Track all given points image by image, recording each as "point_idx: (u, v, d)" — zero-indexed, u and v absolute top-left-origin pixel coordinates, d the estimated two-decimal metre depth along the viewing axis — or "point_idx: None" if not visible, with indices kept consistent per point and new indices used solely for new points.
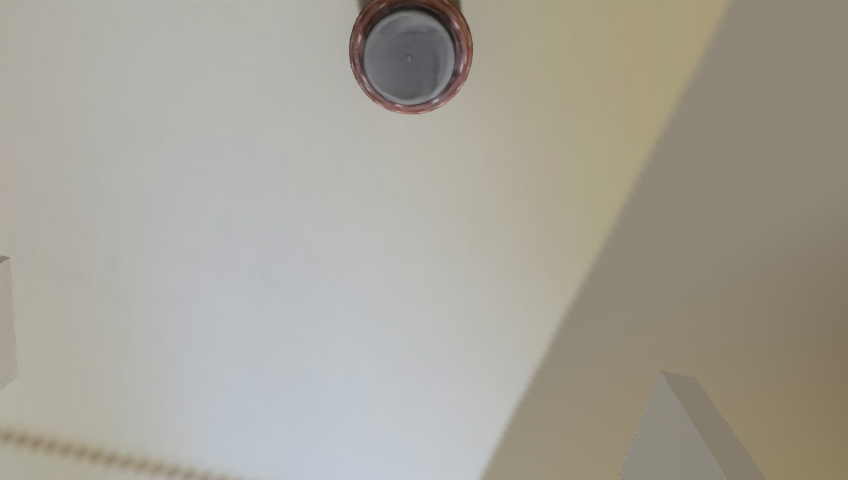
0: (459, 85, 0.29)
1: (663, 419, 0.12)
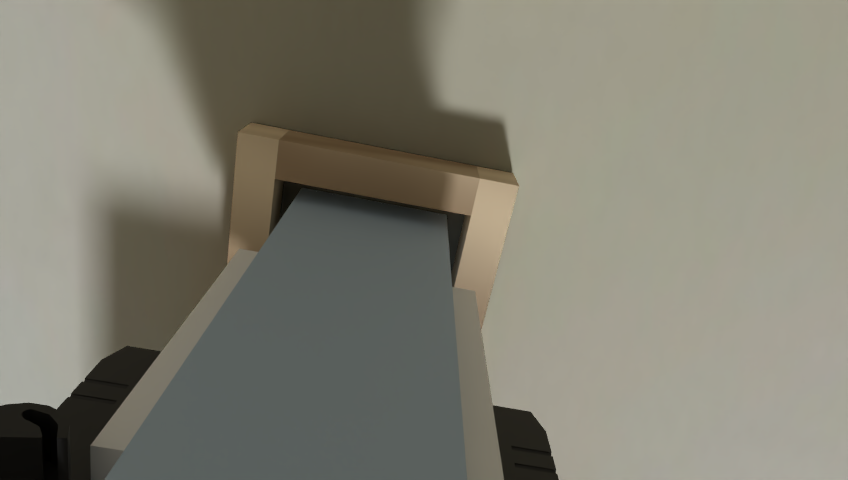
0: None
1: None
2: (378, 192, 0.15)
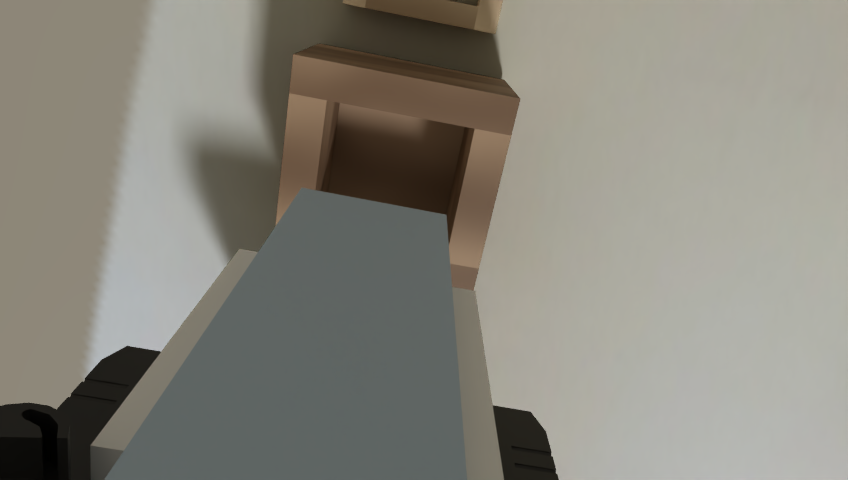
0: None
1: None
2: None
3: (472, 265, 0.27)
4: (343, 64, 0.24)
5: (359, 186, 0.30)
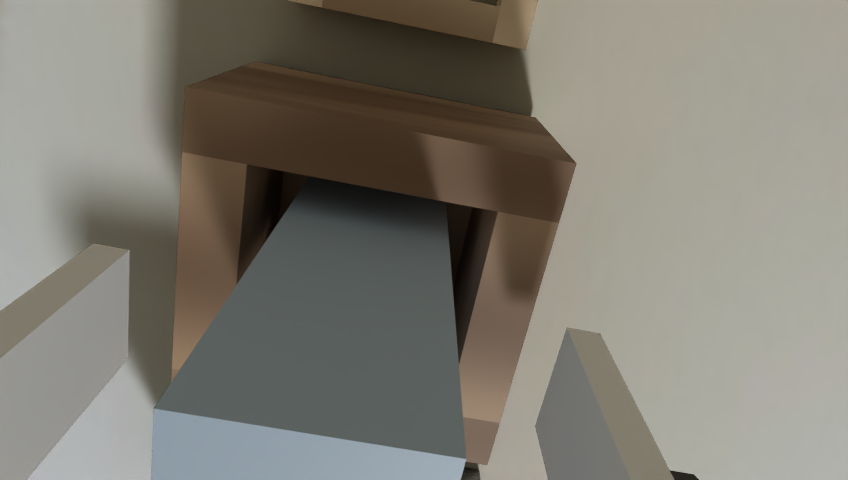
0: None
1: (566, 370, 0.13)
2: None
3: (489, 418, 0.17)
4: (273, 104, 0.14)
5: None
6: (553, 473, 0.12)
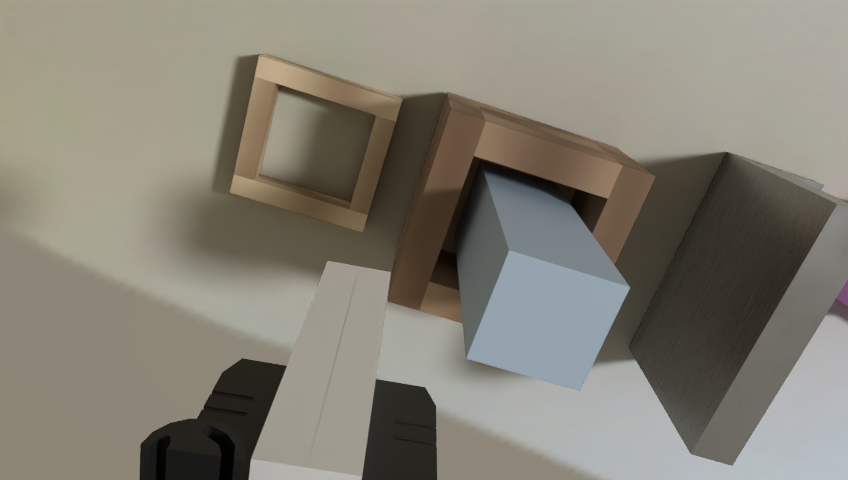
0: None
1: None
2: (261, 130, 0.30)
3: (617, 171, 0.25)
4: (400, 262, 0.27)
5: None
6: None
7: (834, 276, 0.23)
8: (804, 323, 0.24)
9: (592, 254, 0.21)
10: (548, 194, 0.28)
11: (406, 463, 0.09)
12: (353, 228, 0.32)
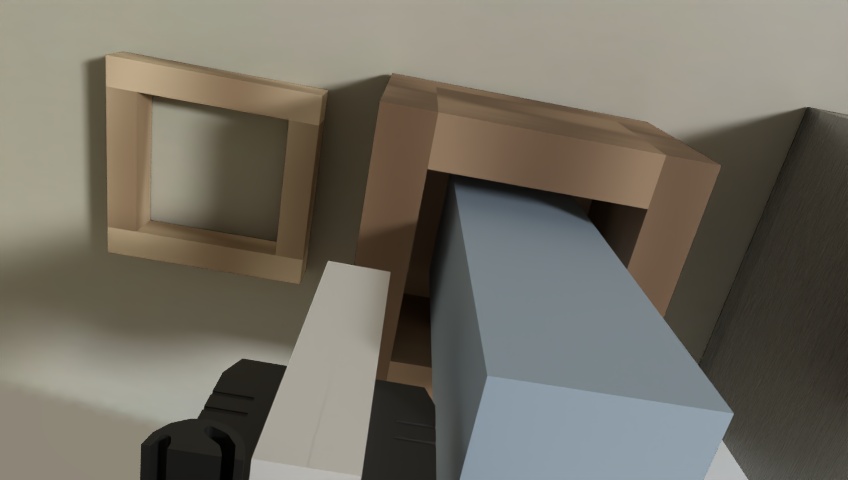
0: None
1: None
2: (131, 161, 0.21)
3: (659, 165, 0.16)
4: None
5: None
6: None
7: None
8: None
9: (645, 332, 0.12)
10: (555, 208, 0.18)
11: (405, 464, 0.09)
12: (286, 280, 0.23)
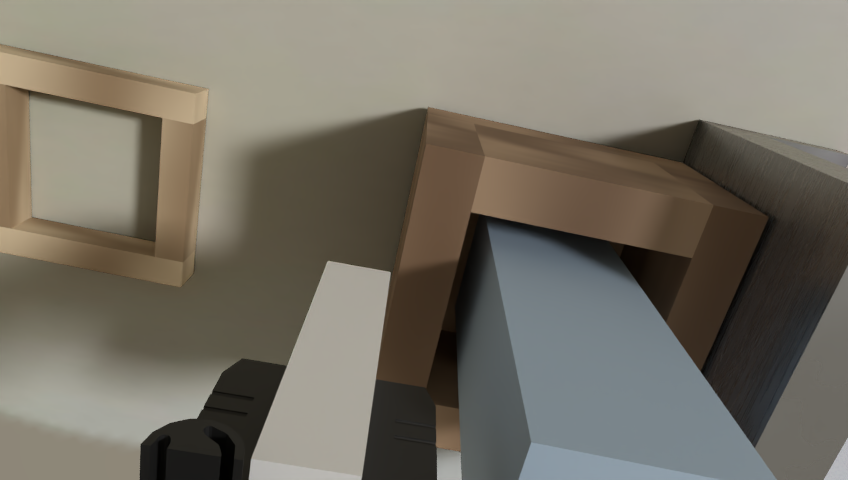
0: None
1: None
2: (3, 156, 0.20)
3: (705, 215, 0.16)
4: None
5: None
6: None
7: None
8: (839, 404, 0.14)
9: (688, 395, 0.11)
10: (588, 250, 0.18)
11: (405, 463, 0.09)
12: (168, 282, 0.22)
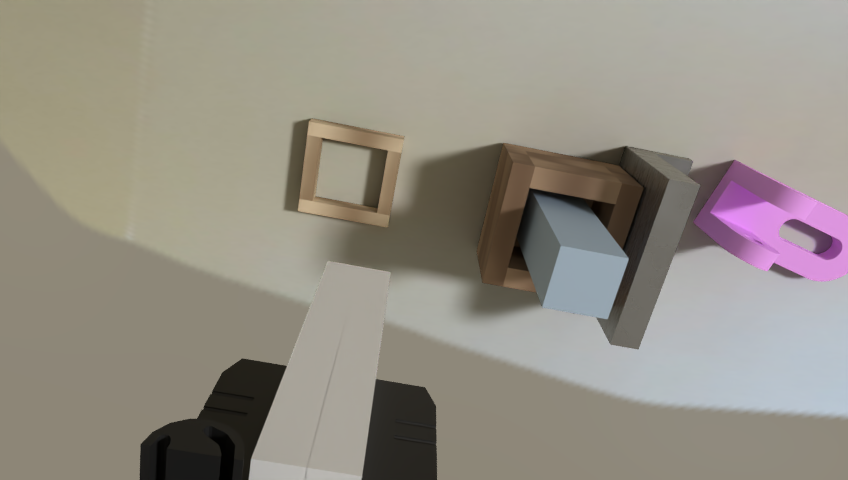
0: None
1: None
2: (314, 168, 0.45)
3: (619, 187, 0.41)
4: (488, 257, 0.43)
5: None
6: None
7: (677, 222, 0.38)
8: (665, 253, 0.39)
9: (606, 241, 0.37)
10: (576, 203, 0.43)
11: (406, 463, 0.09)
12: (381, 225, 0.47)
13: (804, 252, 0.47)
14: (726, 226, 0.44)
